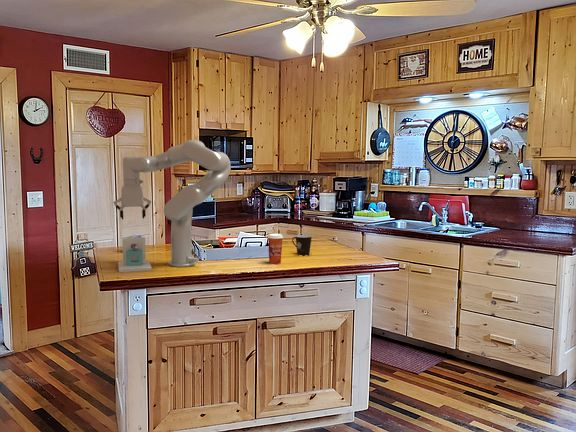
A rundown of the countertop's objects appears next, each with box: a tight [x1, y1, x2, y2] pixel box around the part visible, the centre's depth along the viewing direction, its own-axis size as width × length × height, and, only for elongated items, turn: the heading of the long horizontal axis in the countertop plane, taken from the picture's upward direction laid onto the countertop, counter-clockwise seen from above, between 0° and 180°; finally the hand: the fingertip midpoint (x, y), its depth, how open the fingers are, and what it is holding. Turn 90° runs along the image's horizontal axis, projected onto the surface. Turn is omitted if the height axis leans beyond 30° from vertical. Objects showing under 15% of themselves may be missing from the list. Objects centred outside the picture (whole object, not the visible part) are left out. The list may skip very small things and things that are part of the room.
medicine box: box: [126, 234, 142, 249], centre depth 281 cm, size 8×4×9 cm, turn 168°
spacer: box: [126, 250, 143, 266], centre depth 242 cm, size 2×7×7 cm, turn 109°
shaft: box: [131, 237, 137, 251], centre depth 247 cm, size 20×3×4 cm, turn 19°
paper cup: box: [267, 233, 284, 265], centre depth 258 cm, size 8×8×14 cm
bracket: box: [117, 236, 153, 273], centre depth 243 cm, size 18×14×14 cm
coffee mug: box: [291, 234, 313, 257], centre depth 281 cm, size 12×9×10 cm
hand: (133, 218), depth 253 cm, fingers open, 9 cm apart
